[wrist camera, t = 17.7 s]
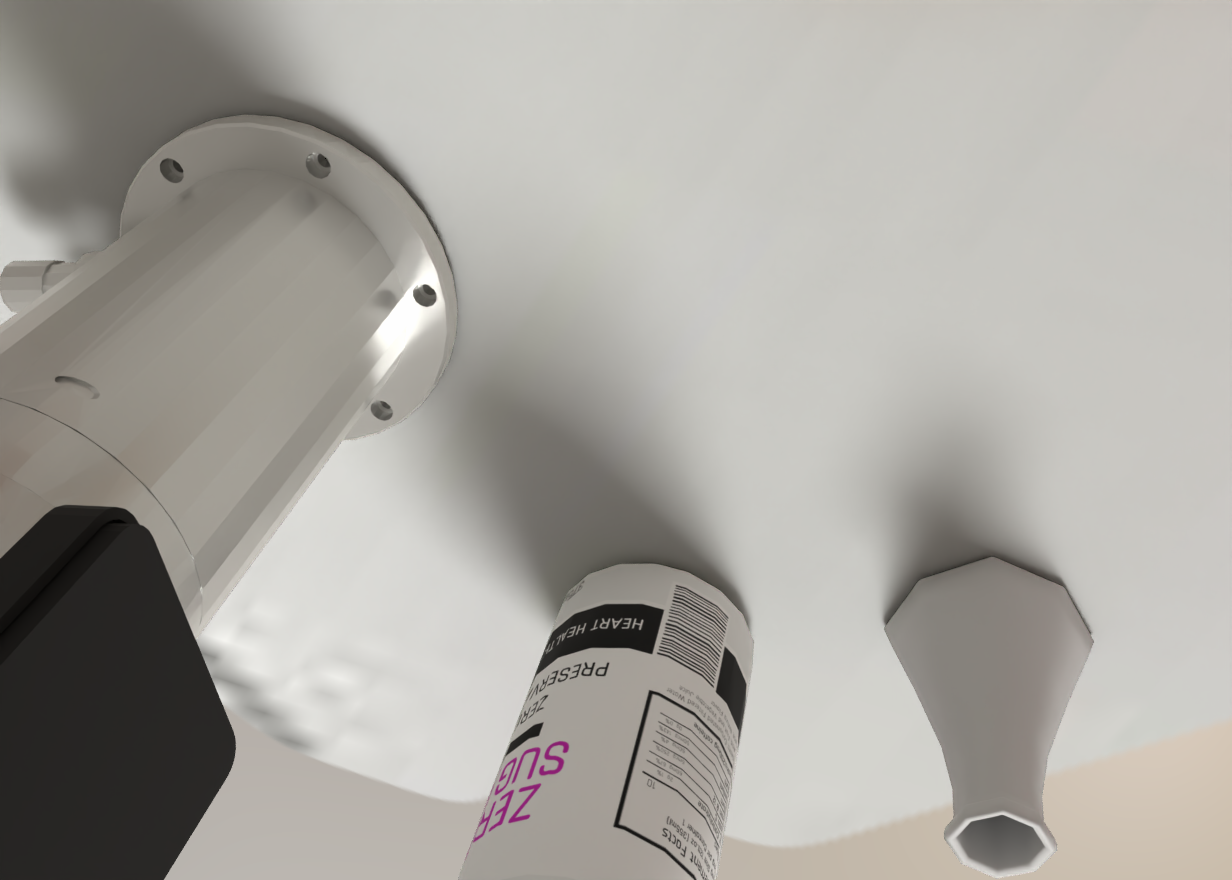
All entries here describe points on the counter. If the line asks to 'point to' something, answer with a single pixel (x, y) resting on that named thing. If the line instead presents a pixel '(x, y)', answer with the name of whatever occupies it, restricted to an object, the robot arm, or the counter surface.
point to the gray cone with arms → (993, 699)
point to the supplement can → (623, 737)
